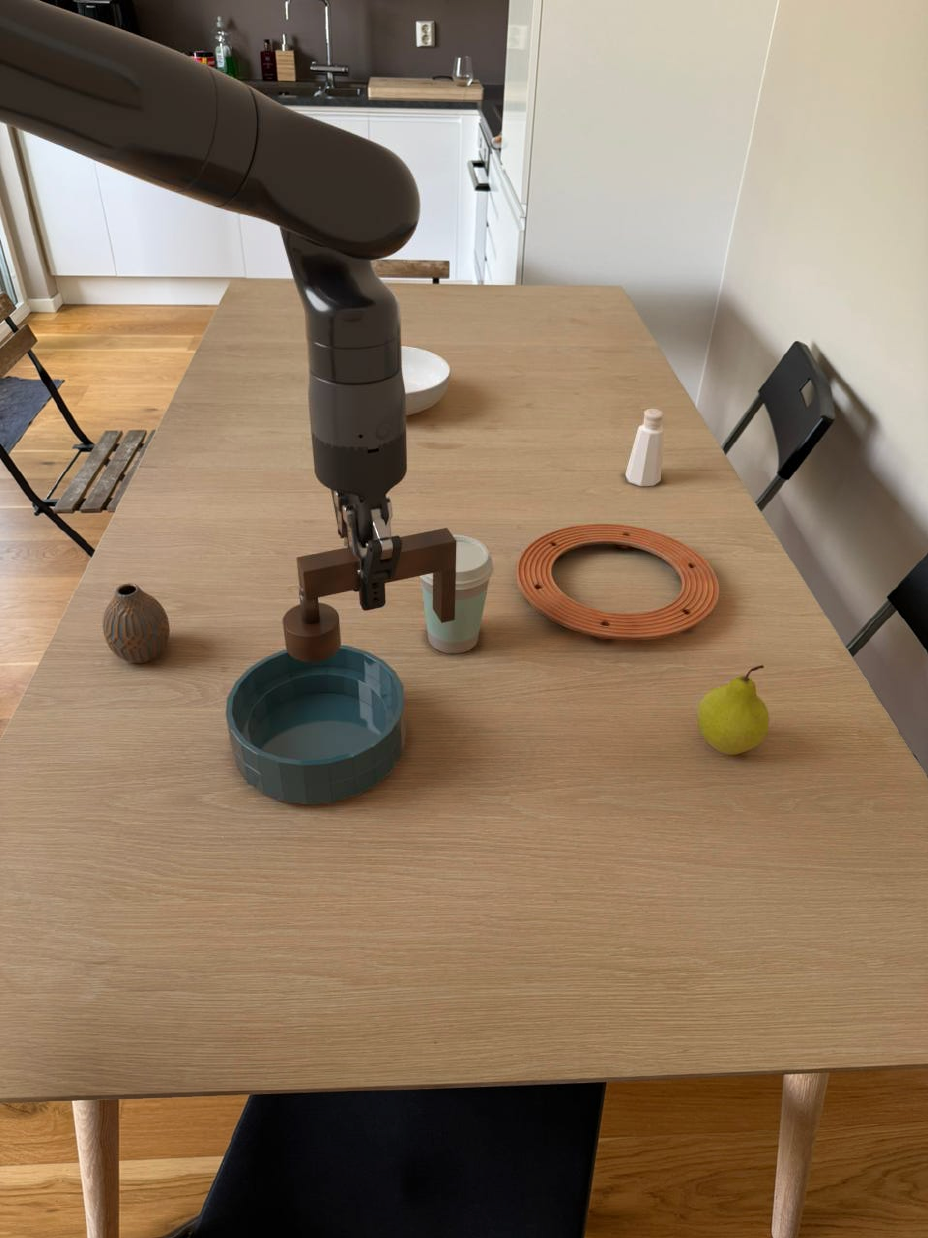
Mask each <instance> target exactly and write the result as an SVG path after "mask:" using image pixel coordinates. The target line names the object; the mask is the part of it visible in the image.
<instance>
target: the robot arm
mask: <svg viewBox="0 0 928 1238" xmlns="http://www.w3.org/2000/svg"><path fill="white" fill-rule="evenodd" d="M0 123H1V124H5V125H6V126H10V127H12V128H14V129H17V130H20V131H23V132H26V133H28V134H30V135H33V136H35V137H38V138H40V139H42V140H45V141H48V142H50V143H51V144H54V145H57V146H60V147H62V148H63V149H66V150H69V151H72V152H74V153H76V154H79V155H81V156H83V157H86V158H87V159H91V160H92V161H95V162H97V163H100V164H102V165H104V166H107V167H109V168H111V169H114V170H116V171H118V172H121V173H123V174H126V175H128V176H131V177H134V178H136V179H138V180H141V181H144V182H146V183H149V184H151V185H154V186H157V187H158V188H162V189H164V190H166V191H167V190H168V191H169V192H173V193H175V194H178V195H181V196H184V197H186V198H189V199H191V200H195V201H197V202H200V203H203V204H205V205H208V206H212V207H214V208H218V209H221V210H224V211H227V212H232V213H236V214H240V215H244V216H248V217H251V218H256V219H260V220H261V221H266V222H267V223H268V222H269V223H270V224H273V225H275V226H278V228H279V231H280V235H281V239H282V243H283V247H284V250H285V254H286V258H287V261H288V264H289V268H290V271H291V275H292V278H293V282H294V285H295V288H296V290H297V292H298V295H299V298H300V302H301V304H302V308H303V311H304V322H305V323H304V325H305V326H304V327H305V339H306V350H307V361H308V385H307V386H308V388H307V396H308V399H307V401H308V412H309V423H310V433H311V435H310V436H311V444H312V445H311V446H312V456H313V457H312V458H313V466H314V467H313V468H314V474H315V477H316V479H317V480H318V482H319V483H320V484H321V485H322V486H324V487H326V488H327V489H329V490H330V492H331V497H332V503H333V509H334V514H335V520H336V525H337V534H338V536H339V537H340V539H343V548H347V547H349V548H350V550H351V551H352V553H353V554H354V556H355V557H356V562H357V575H358V581H359V589H356V590H352V592H355V593H357V592H358V598H359V605H360V607H361V609H362V610H363V611H372V610H377V609H380V608H383V607H384V606H385V605H386V603H387V602H386V601H387V600H386V583H385V580H390V579H394V577H395V573H396V570H397V566H398V562H399V558H400V554H401V550H402V540H401V539H400V537H401V536H400V535H398V534H396V535H393V536H392V528H391V520H392V519H393V517H394V515H393V504H392V501H391V498H390V497H389V496H388V497H387V494H388V493H389V492H390V491H391V490H392V489H393V488H395V486H397V485H399V484H400V483H401V482H402V481H403V480H404V478H405V477H406V475H407V471H408V449H407V447H408V445H407V415H406V395H405V386H404V381H403V374H402V349H401V346H402V320H401V319H402V318H401V316H402V315H401V308H400V304H399V300H398V298H397V296H396V294H395V293H394V291H392V289H391V288H390V287H388V286H387V284H386V283H384V282H383V280H382V279H381V278H380V277H379V275H378V274H377V273H376V271H375V269H374V267H373V262H372V261H378V260H383V259H386V258H388V257H391V256H392V255H395V254H396V253H398V252H399V251H400V250H401V249H402V248H404V247H405V246H406V245H407V244H408V243H409V241H410V240H411V239H412V237H413V236H414V234H415V232H416V230H417V227H418V224H419V221H420V217H421V197H420V196H421V195H420V190H419V187H418V184H417V182H416V178H415V176H414V174H413V173H412V171H411V170H410V168H409V167H408V165H407V164H406V162H405V161H404V160H403V159H402V158H401V157H400V156H399V155H397V154H396V153H395V152H394V151H392V150H391V149H389V148H387V147H385V146H383V145H381V144H380V143H377V142H375V141H373V140H370V139H368V138H365V137H363V136H361V135H358V134H356V133H353V132H351V131H348V130H347V129H343V128H340V127H338V126H336V125H333V124H330V123H327V122H325V121H322V120H320V119H317V118H314V117H311V116H308V115H305V114H304V113H300V112H297V111H296V110H293V109H291V108H289V107H287V106H285V105H283V104H282V103H279V102H278V101H276V100H274V99H272V98H271V97H269V96H267V95H265V94H264V93H262V92H261V91H259V90H257V89H256V88H254V87H252V86H251V85H248V84H246V83H244V82H242V80H238V79H237V78H235V77H232V76H231V75H228V74H227V73H224V72H222V71H220V70H218V69H216V68H213V67H212V66H210V65H208V64H205V63H204V62H201V61H199V60H197V59H195V58H193V57H191V56H190V55H189V56H188V55H187V54H184V53H182V52H180V51H177V50H175V49H173V48H171V47H169V46H166V45H163V44H161V43H158V42H156V41H153V40H152V39H151V40H150V39H148V38H145V37H142V36H140V35H137V34H135V33H133V32H129V31H126V30H124V29H121V28H119V27H116V26H114V25H110V24H107V23H104V22H101V21H99V20H96V19H93V18H90V17H88V16H84V15H81V14H78V13H75V12H72V11H70V10H67V9H64V8H61V7H59V6H56V5H53V4H50V3H47V2H44V1H41V0H0ZM365 557H366V558H365Z"/></svg>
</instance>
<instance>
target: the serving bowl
mask: <svg viewBox="0 0 928 1238" xmlns="http://www.w3.org/2000/svg"><path fill="white" fill-rule="evenodd" d="M401 349H402V374H403V381H404V386H405V395H406V416H410V415H414V414H418V413H420V412H423V411H426V410H428V409H429V408H431V407H433V406H434V405H435V404H437V403H438V402H439V401H440V400H441V399H442V398H443V396H444V395H445V393H446V391H447V389H448V386H449V384H450V379H451V373H452V369H451V365H450V364H449V363H448V362H447V361H446V360H445V359H444V358H443V357H441V356H440V355H438V354H436V353H434V352H432V351H428V350H425V349H421V348H418V347H412V346H406V345H401Z"/></svg>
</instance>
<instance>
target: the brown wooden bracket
mask: <svg viewBox="0 0 928 1238" xmlns="http://www.w3.org/2000/svg"><path fill="white" fill-rule="evenodd" d="M453 535H454V534H452V532H451V531H450V530H449V528H448V527H444V528H443V527H442V528H439V529H433V530H428V531H424V532H423V531H422V532H419V533H412V534H408V535H403V536H402V535H401V536H399V537H400V539H401V540H402V550H401V554H400V558H399V562H398V566H397V570H396V573H395V577H394V579H390V580H385V584H389V583H394V582H398V581H403V580H407V579H408V580H409V579H412V578H417V577H420V576H422V575H427V574H431V573H433V610H434V612H435V613H436V615H437V617H438V618H439V620H440V621H441V623H444V622H448V621H453V620H455V593H456V547H457V541H456V539H455V538H454V537H453ZM365 558H366V557H365ZM295 559H296V568H297V578H298V586H299V589H298V596H299V604H298V605H295V606H292V607H291V608H289V609H288V610H287V611H286V612H285V614H284V615H283V618H282V626H283V627H282V628H283V634H284V635H283V636H284V643H285V649H287V652H288V653H289V655H291V656H292V657H293V658H295V659H297V660H300V661H304V662H318V661H322V660H325V659H328V658H330V657H332V656H333V655H334V654H336V653H337V652H338V650H339V648H340V646H341V645H342V638H341V637H342V636H341V624H340V623H341V622H340V615H339V612H338V610H337V609H336V608H334V607H333V606H331V605H330V604H327V603H323V602H319V598H323V597H328V596H333V595H337V594H342V593H347V592H353V590H356V589H359V581H358V575H357V562H356V557H355V556H354V554H353V553H352V551H351V550H350V548H349V547H347V548H344V547H342V548H336V549H332V550H327V551H322V552H317V553H311V554H307V555H302V556H297V557H296V558H295Z"/></svg>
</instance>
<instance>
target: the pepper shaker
mask: <svg viewBox="0 0 928 1238" xmlns="http://www.w3.org/2000/svg"><path fill="white" fill-rule="evenodd" d="M663 418H664V412H663V411H662V410H659V409H657V408H649V409H646V410H645V411H644V412H643V422H642V424H641V425H639V426H638V428H637V431H636V435H635V437H634V438H635V439H634V442H633V446H632V449H631V453H630V457H629V460H628V464H627V468H626V470H625V477H626V479H627V481H628V482H629V483H631V484H633V485H635V486H638V487H641V488H642V487H654V486H656V485H657V484H658V483H659V482H660V483H661V480H662V469H663V468H662V466H663V453H664V452H663V451H664V437H665V430H664V428H663V426H662V423H663Z"/></svg>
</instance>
